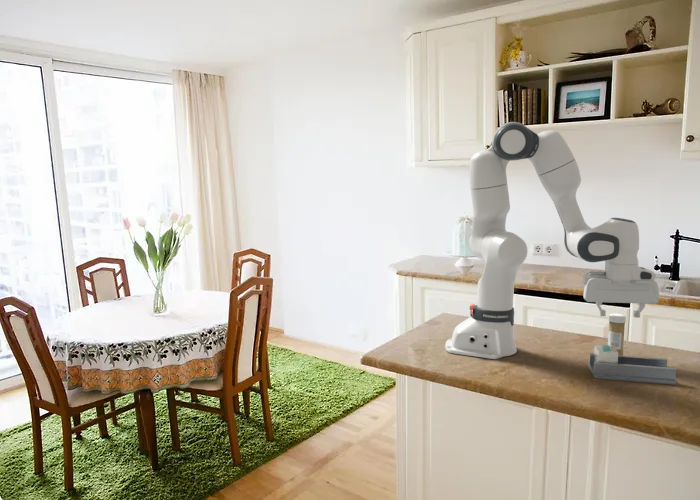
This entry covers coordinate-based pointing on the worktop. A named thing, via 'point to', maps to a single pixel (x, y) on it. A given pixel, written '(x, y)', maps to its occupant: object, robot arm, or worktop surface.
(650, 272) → the robot arm
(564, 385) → the worktop surface
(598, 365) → the rail
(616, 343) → the sprinkles bottle
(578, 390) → the worktop surface
